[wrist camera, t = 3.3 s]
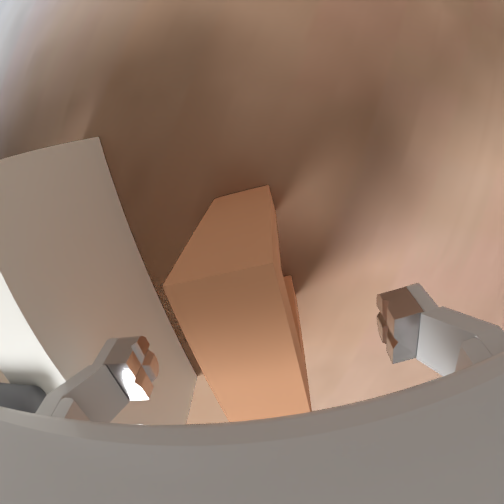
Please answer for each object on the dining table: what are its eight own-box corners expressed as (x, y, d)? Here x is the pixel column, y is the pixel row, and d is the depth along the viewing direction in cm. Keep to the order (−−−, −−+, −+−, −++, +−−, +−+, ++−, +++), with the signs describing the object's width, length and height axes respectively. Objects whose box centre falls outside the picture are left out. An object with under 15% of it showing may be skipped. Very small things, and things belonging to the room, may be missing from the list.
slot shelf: (98, 136, 16) (-71, 184, 5) (197, 376, 22) (166, 515, 12) (-35, 215, 18) (-130, 276, 7) (54, 382, 25) (4, 469, 14)
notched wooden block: (268, 184, 16) (272, 262, 8) (295, 295, 19) (313, 424, 10) (214, 198, 17) (162, 286, 8) (248, 305, 20) (236, 434, 11)
